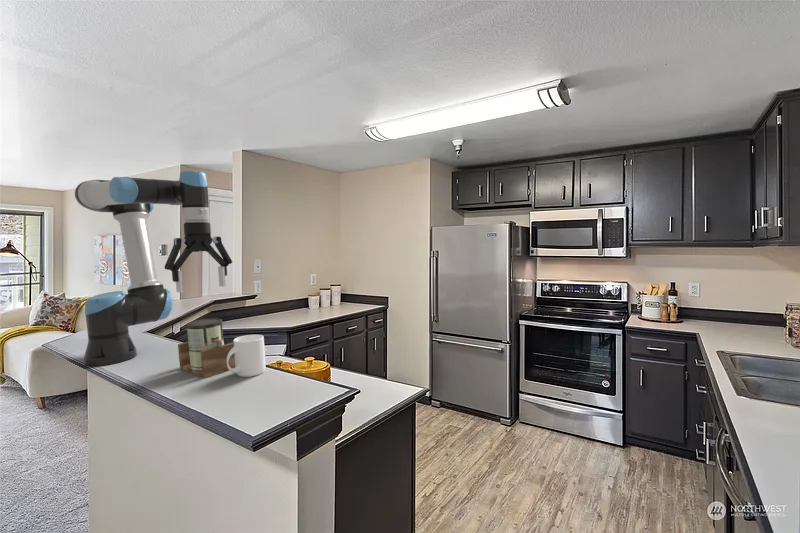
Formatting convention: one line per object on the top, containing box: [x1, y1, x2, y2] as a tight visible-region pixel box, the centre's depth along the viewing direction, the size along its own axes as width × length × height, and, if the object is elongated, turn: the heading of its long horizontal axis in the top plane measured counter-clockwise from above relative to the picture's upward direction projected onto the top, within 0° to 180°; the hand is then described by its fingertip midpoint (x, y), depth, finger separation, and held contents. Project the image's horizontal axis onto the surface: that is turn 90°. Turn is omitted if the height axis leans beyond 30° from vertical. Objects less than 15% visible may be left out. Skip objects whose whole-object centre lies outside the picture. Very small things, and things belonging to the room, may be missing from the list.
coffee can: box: [185, 317, 225, 370], centre depth 129 cm, size 10×10×14 cm
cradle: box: [177, 340, 235, 379], centre depth 130 cm, size 16×11×10 cm
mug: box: [227, 334, 266, 378], centre depth 122 cm, size 9×12×11 cm
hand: (202, 289), depth 129 cm, fingers open, 13 cm apart
